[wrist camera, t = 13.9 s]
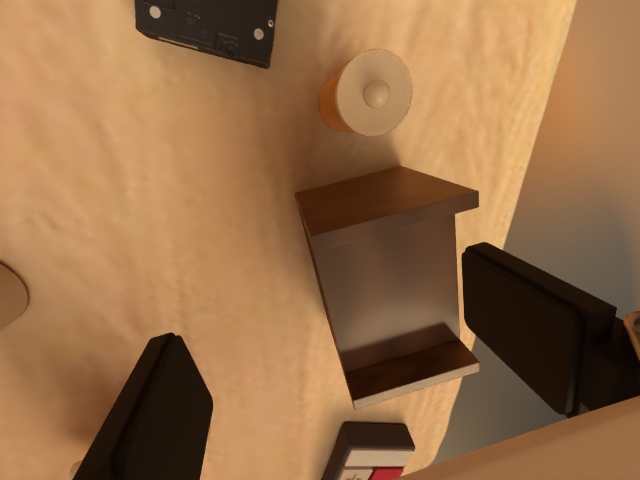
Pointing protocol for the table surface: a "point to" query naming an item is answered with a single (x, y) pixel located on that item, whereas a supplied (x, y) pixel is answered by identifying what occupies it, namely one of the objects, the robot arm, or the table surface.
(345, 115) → the canister
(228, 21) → the disk drive
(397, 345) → the shelf
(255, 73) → the table surface
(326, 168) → the table surface
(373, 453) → the calculator
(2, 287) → the travel mug
